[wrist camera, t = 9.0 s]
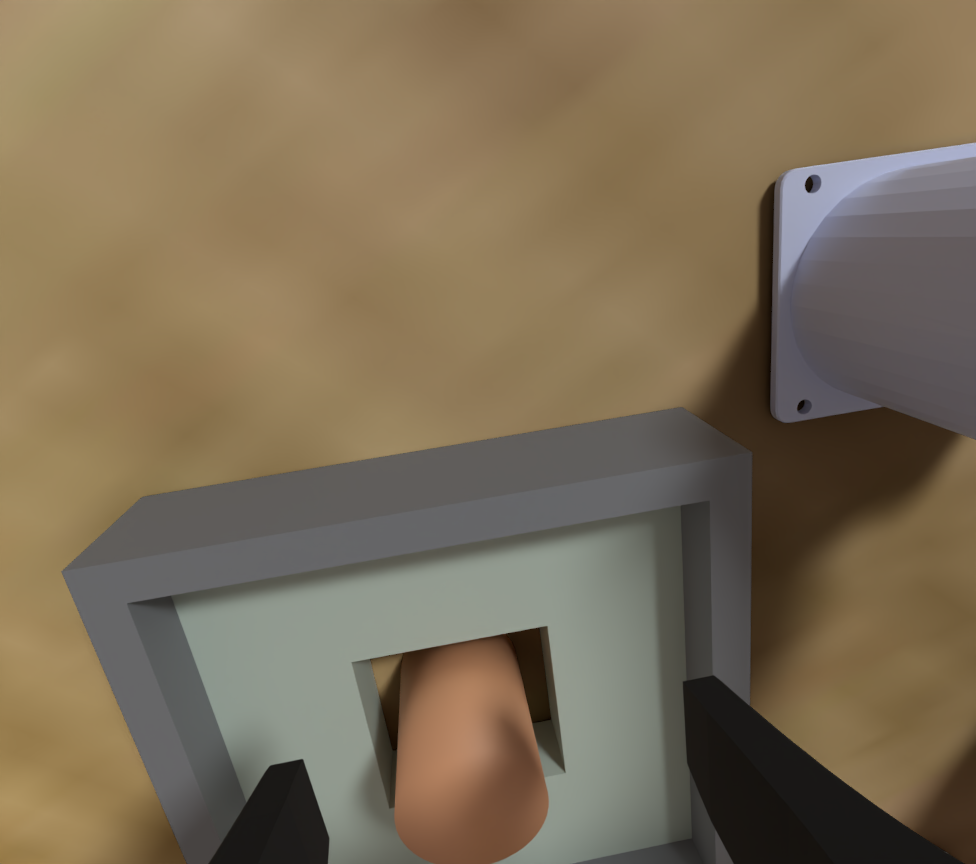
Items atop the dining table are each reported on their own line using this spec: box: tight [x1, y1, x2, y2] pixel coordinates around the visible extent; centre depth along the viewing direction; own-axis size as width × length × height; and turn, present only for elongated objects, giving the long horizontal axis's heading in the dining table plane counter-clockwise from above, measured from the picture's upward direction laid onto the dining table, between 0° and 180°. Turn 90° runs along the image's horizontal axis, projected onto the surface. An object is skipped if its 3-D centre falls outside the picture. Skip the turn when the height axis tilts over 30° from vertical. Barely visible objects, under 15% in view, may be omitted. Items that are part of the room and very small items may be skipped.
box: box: [61, 407, 752, 864], centre depth 20 cm, size 18×18×4 cm
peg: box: [394, 634, 549, 864], centre depth 20 cm, size 4×4×6 cm
